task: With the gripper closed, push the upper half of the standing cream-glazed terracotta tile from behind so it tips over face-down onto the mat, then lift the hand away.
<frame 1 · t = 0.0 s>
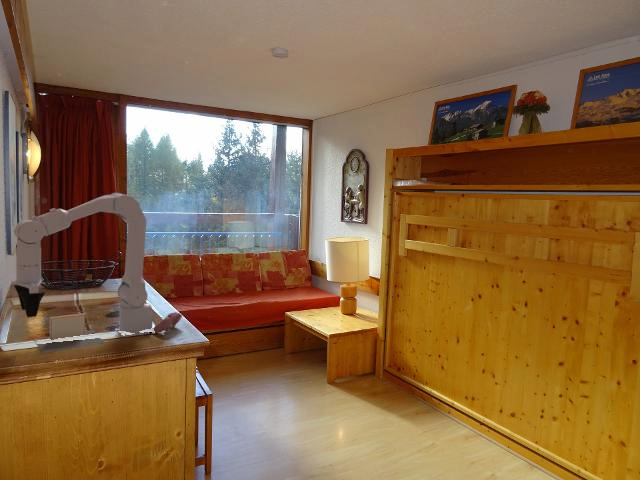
hand: (29, 312, 128), 10 cm above the table, tool pointing down, fingers open, 7 cm apart
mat: (69, 342, 135), on the table
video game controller: (168, 330, 152), on the table
tile: (67, 338, 137), resting on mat
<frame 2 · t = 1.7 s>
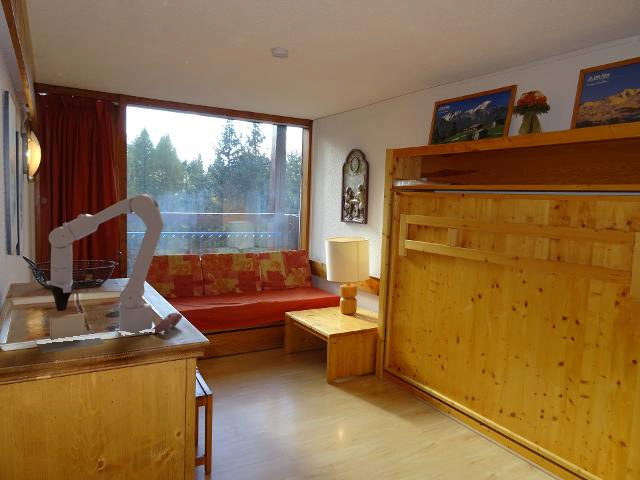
hand: (61, 310, 142), 7 cm above the table, tool pointing down, fingers closed
nothing on the table moved.
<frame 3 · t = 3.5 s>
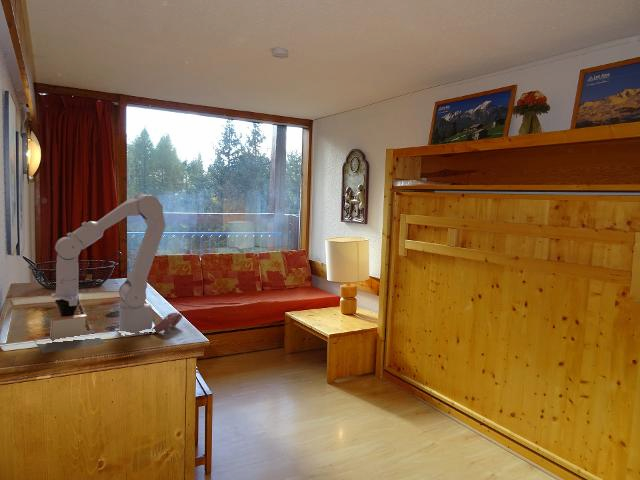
hand: (67, 323, 137), 5 cm above the table, tool pointing down, fingers closed
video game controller: (168, 330, 153), on the table, touching arm
tile: (67, 338, 137), point 1 cm above the table, tilted 12°, touching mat
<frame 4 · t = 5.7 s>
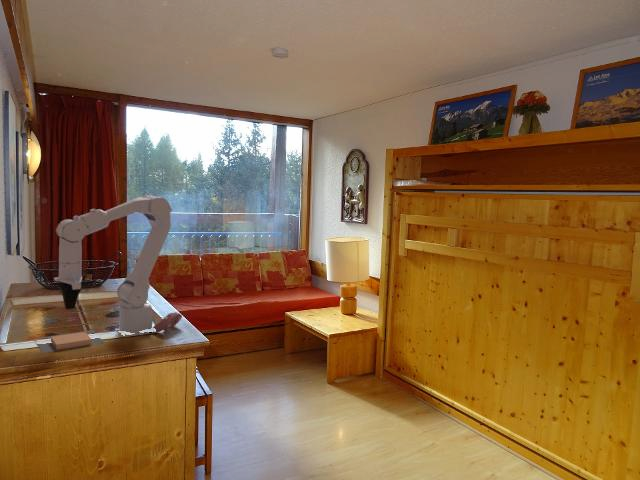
hand: (70, 308, 134), 10 cm above the table, tool pointing down, fingers closed
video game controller: (167, 330, 153), on the table
tile: (68, 336, 136), point 1 cm above the table, tilted 90°, touching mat
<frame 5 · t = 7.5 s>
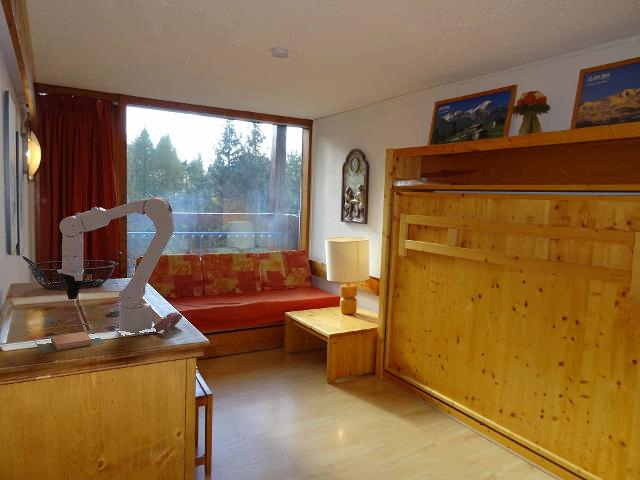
hand: (72, 298, 143), 10 cm above the table, tool pointing down, fingers closed
nothing on the table moved.
at the end: tile tilted 90°; tile inside the target area on the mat (1.9 cm from its centre), point 1.4 cm above the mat's base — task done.
